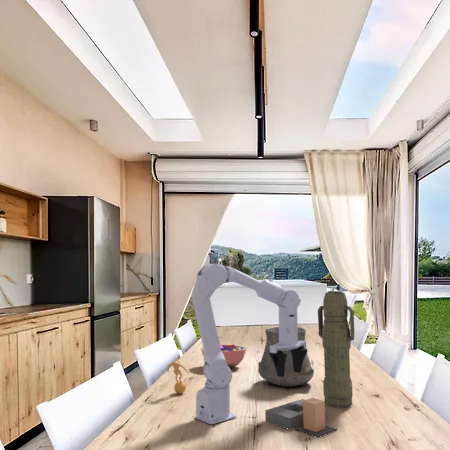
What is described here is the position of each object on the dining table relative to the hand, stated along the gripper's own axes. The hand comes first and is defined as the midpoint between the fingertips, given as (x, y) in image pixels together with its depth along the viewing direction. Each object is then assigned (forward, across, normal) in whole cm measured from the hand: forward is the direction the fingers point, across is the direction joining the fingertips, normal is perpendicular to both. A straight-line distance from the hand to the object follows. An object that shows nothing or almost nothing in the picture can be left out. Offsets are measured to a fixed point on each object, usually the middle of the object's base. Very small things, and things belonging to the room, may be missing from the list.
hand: (289, 374), depth 137 cm
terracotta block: (+10, -8, -16) cm, 20 cm away
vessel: (+11, +22, +20) cm, 32 cm away
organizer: (+10, -5, -7) cm, 13 cm away
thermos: (+11, +16, -6) cm, 20 cm away
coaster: (+10, -8, -16) cm, 21 cm away
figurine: (+11, -16, +36) cm, 41 cm away
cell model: (+11, +22, +57) cm, 62 cm away
